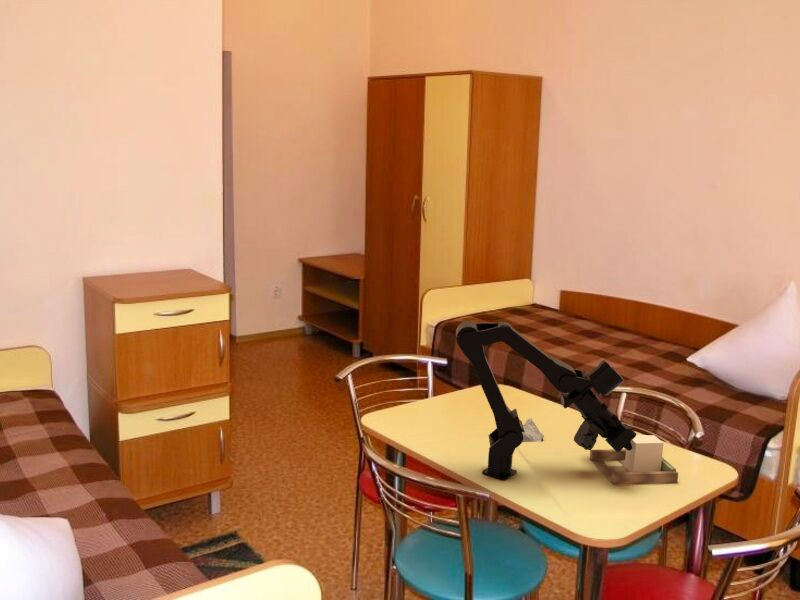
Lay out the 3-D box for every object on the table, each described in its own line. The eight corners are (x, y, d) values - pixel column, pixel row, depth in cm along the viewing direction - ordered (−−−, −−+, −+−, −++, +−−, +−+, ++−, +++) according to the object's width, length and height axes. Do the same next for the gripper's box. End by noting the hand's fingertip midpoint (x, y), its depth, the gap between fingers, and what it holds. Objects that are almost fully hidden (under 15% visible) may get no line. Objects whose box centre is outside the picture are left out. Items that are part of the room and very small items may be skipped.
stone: (548, 433, 221) (549, 419, 220) (539, 447, 209) (540, 432, 209) (525, 430, 223) (526, 416, 222) (516, 443, 212) (517, 429, 211)
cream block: (633, 474, 190) (636, 443, 188) (624, 466, 195) (627, 435, 193) (660, 473, 191) (663, 442, 189) (650, 465, 196) (653, 435, 194)
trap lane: (612, 490, 184) (614, 472, 183) (589, 464, 199) (590, 448, 198) (676, 488, 186) (678, 471, 185) (648, 463, 201) (650, 446, 200)
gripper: (553, 416, 197) (591, 456, 200) (579, 444, 178) (621, 488, 182) (585, 386, 196) (623, 427, 200) (615, 411, 178) (656, 455, 182)
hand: (630, 449), depth 191 cm, fingers closed, pressing on cream block
